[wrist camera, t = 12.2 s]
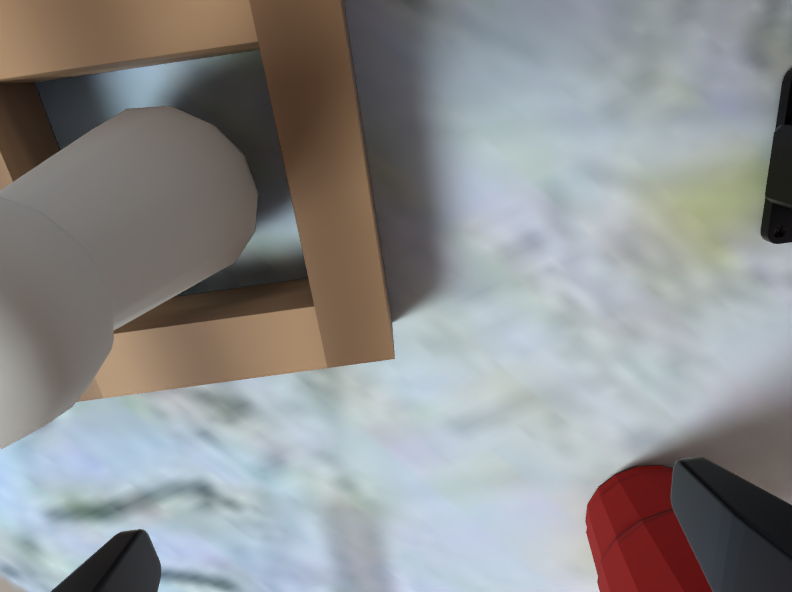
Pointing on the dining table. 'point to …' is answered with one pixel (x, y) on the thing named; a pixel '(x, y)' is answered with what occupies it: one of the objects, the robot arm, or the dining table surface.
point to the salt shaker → (109, 248)
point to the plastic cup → (641, 536)
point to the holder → (304, 164)
